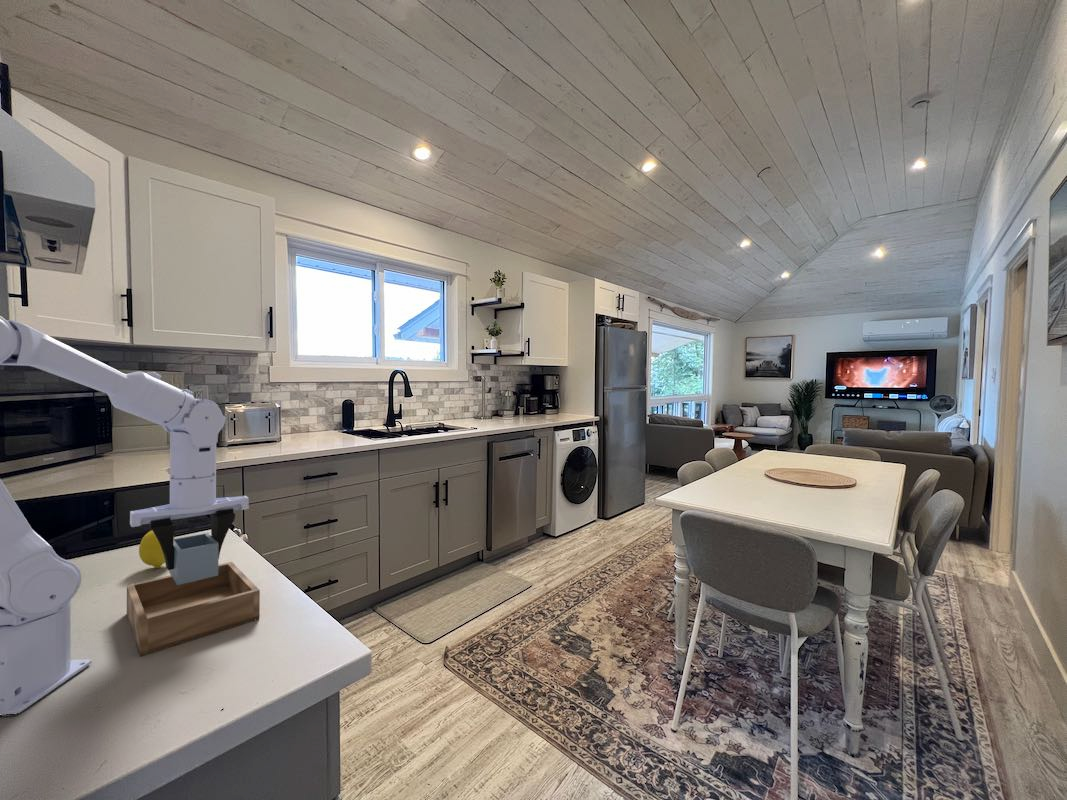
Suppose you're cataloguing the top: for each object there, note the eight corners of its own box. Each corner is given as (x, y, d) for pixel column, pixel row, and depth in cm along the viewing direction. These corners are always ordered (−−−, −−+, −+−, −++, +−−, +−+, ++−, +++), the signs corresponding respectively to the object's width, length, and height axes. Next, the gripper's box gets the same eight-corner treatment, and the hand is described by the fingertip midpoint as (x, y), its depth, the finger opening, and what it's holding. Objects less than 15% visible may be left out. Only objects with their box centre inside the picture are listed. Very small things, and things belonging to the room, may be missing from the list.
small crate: (218, 575, 69) (218, 543, 69) (177, 585, 65) (177, 551, 65) (207, 562, 74) (207, 532, 74) (168, 571, 70) (169, 539, 70)
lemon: (154, 574, 85) (154, 532, 85) (131, 571, 86) (131, 530, 86) (182, 563, 90) (183, 524, 90) (160, 561, 91) (160, 522, 91)
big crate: (259, 618, 70) (259, 590, 70) (139, 656, 59) (140, 622, 59) (231, 586, 81) (231, 561, 80) (126, 613, 70) (126, 585, 70)
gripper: (240, 467, 78) (240, 545, 78) (127, 477, 67) (127, 568, 67) (252, 472, 73) (252, 556, 73) (133, 485, 62) (133, 582, 62)
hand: (193, 562), depth 70 cm, fingers closed on small crate, 5 cm apart
